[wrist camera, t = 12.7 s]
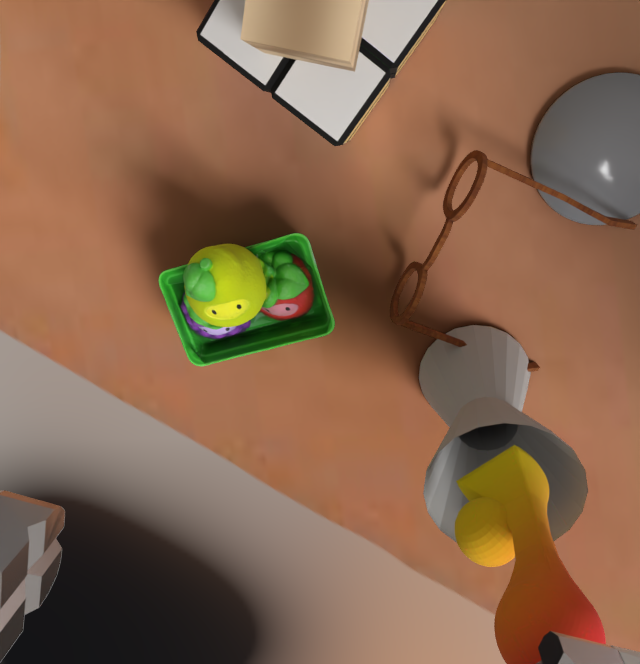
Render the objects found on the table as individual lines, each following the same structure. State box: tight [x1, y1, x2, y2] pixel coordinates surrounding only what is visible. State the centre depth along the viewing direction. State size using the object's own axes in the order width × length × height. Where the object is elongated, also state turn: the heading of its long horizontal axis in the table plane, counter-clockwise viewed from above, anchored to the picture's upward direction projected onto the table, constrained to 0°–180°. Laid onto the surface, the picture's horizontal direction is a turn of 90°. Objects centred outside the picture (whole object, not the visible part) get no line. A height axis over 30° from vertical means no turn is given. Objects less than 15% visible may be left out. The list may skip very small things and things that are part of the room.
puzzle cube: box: [197, 0, 447, 146], centre depth 36 cm, size 10×10×10 cm
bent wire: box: [390, 150, 637, 372], centre depth 42 cm, size 13×13×5 cm
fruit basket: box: [159, 233, 335, 366], centre depth 42 cm, size 11×9×11 cm
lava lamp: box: [419, 325, 606, 664], centre depth 31 cm, size 9×9×35 cm
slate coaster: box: [530, 73, 640, 225], centre depth 41 cm, size 10×10×1 cm
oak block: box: [240, 0, 369, 72], centre depth 29 cm, size 5×5×6 cm
